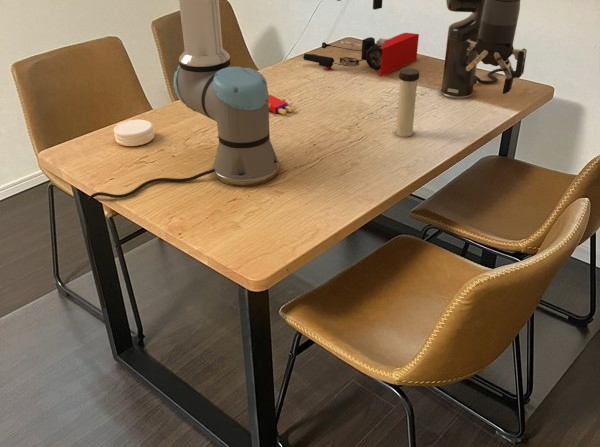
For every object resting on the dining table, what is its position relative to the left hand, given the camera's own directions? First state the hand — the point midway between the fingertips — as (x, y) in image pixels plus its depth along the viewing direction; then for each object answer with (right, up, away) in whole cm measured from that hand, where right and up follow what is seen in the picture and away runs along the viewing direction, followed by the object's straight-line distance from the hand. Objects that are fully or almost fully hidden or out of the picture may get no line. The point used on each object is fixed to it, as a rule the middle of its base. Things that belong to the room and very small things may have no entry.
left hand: (358, 4), depth 166 cm
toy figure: (-23, -26, +12) cm, 37 cm away
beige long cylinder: (+12, -35, -3) cm, 37 cm away
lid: (+11, -21, -12) cm, 27 cm away
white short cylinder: (-59, -37, -4) cm, 70 cm away
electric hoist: (+5, -3, +47) cm, 47 cm away
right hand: (+28, -28, -22) cm, 45 cm away
